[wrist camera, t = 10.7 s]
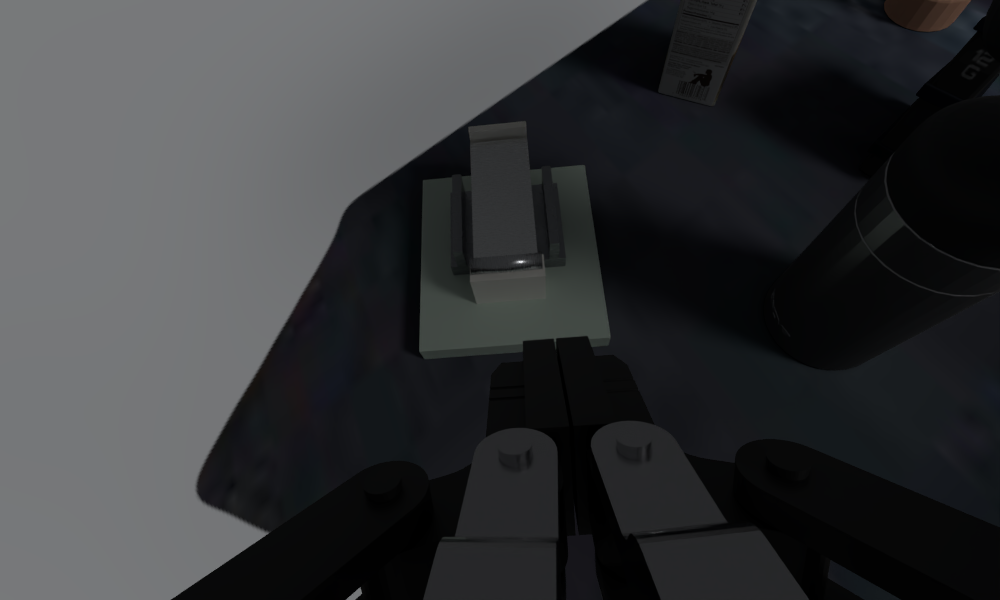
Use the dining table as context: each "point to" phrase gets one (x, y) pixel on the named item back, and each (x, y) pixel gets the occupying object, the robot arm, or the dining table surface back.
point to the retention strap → (502, 208)
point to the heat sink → (544, 215)
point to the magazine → (939, 96)
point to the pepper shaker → (924, 13)
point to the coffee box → (703, 48)
